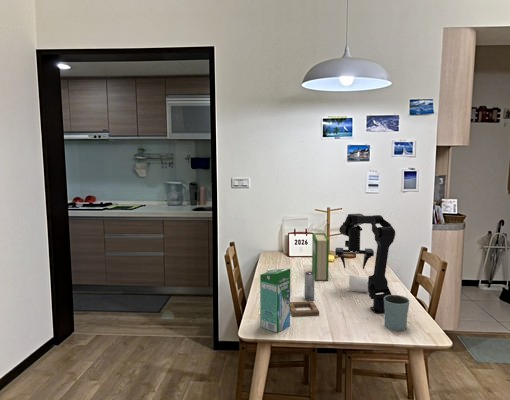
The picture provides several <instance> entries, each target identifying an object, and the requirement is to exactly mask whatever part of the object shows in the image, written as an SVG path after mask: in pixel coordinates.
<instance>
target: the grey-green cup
mask: <svg viewBox="0 0 510 400" xmlns="http://www.w3.org/2000/svg"><path fill="white" fill-rule="evenodd" d="M409 308H410V299H409V298H408V297H406V296H403V295H400V294H399V295H398V294H392V295H387V296H385V297H384V309H385V313H384V327H385V326H386V327H385V328H387V329H389V330H390V329H391V330H390V331H396V332H402V331H401V330H403V331H405V330H406V329H407V324H408V314H409ZM404 329H405V330H404Z"/></svg>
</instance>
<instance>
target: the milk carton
mask: <svg viewBox="0 0 510 400" xmlns="http://www.w3.org/2000/svg"><path fill="white" fill-rule="evenodd" d="M259 279H260V280H259V283H260V287H259V288H260V289H259V290H260V291H259V292H260V293H259V294H260V295H259V298H260V300H259V301H260V303H259V304H260V305H259V306H260V307H259V309H260V316H259V317H260V319H259V320H260V321H259V322H260V328H262V329H265V330H268V331H271V332H273V333H276V334H279V333H280V332H282V331H283V330H286V328H287V329H288V327H290V326H291V312H290V302H291V268H276V267H272V268H268V269H266V272H264V273H261V274H260V275H259Z"/></svg>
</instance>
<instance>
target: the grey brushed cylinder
mask: <svg viewBox="0 0 510 400" xmlns="http://www.w3.org/2000/svg"><path fill="white" fill-rule="evenodd" d="M315 282H316V281H315V274H314V272H312V271H310V270H309V271H306V272H305V273H304V301H305V302H309V301H313V302H314V301H315Z"/></svg>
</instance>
